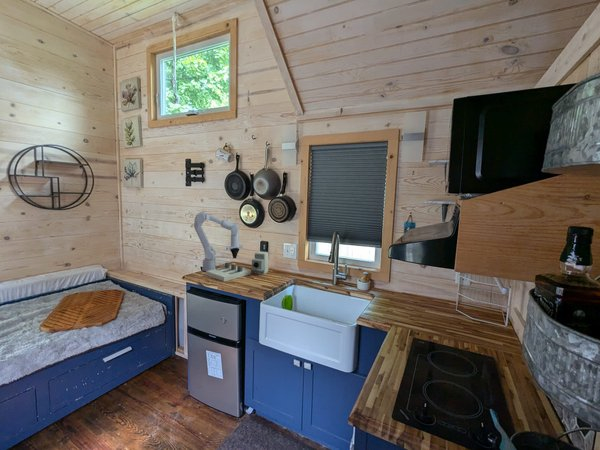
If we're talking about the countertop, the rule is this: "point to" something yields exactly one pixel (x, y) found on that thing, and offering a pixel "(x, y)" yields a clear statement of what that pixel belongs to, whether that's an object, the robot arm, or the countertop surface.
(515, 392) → the countertop surface
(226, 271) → the breaker panel
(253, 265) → the circuit breaker
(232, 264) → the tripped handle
